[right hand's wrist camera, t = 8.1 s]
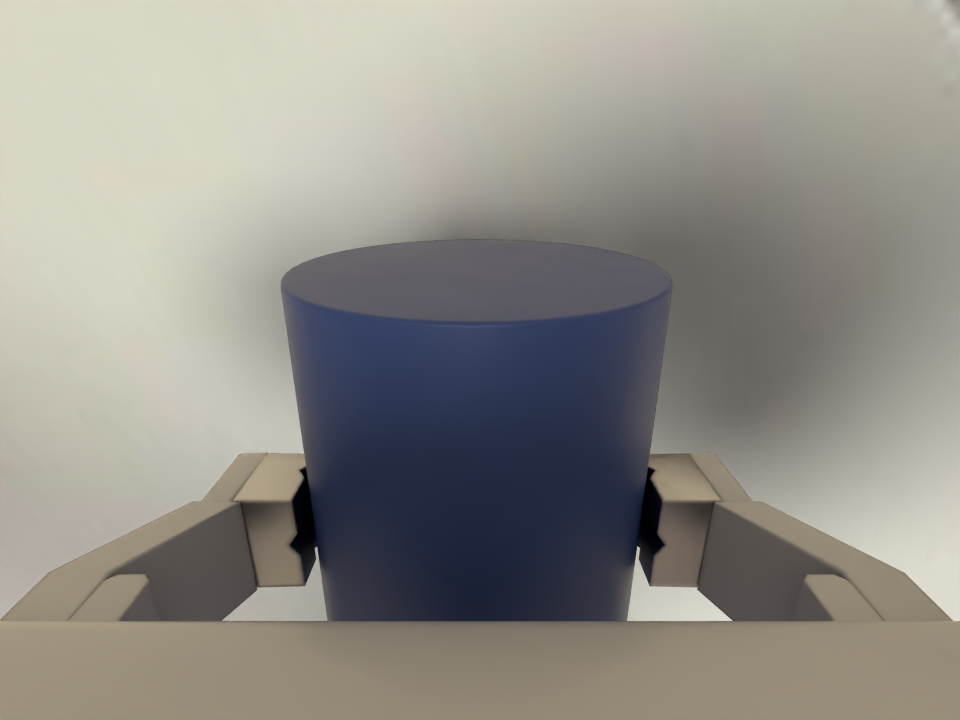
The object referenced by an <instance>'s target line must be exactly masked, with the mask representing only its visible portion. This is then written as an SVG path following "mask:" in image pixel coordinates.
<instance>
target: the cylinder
mask: <svg viewBox="0 0 960 720" xmlns="http://www.w3.org/2000/svg"><path fill="white" fill-rule="evenodd" d="M281 292H282V299H283V306H284V313H285V320H286V327H287V334H288V342H289V349H290V356H291V363H292V370H293V377H294V384H295V391H296V398H297V405H298V413H299V420H300V427H301V434H302V441H303V448H304V455H305V462H306V469H307V476H308V484H309V491H310V498H311V505H312V512H313V519H314V526H315V533H316V540H317V547H318V555H319V562H320V569H321V576H322V583H323V590H324V597H325V604H326V611H327V618H328V621H627V617H628V609H629V602H630V594H631V587H632V580H633V572H634V565H635V558H636V550H637V543H638V536H639V528H640V521H641V513H642V506H643V499H644V491H645V484H646V477H647V469H648V462H649V455H650V447H651V440H652V433H653V425H654V418H655V410H656V403H657V396H658V388H659V381H660V374H661V366H662V359H663V352H664V344H665V337H666V329H667V322H668V315H669V307H670V300H671V293H672V279H671V277H670V276H669V274H668V273H667V272H666V271H664V270H663V269H662V268H660V267H658V266H656V265H654V264H653V263H650V262H648V261H645V260H642V259H640V258H637V257H633V256H630V255H626V254H622V253H618V252H614V251H609V250H603V249H598V248H592V247H585V246H578V245H570V244H560V243H550V242H537V241H519V240H479V239H477V240H436V241H419V242H405V243H395V244H386V245H377V246H370V247H363V248H357V249H352V250H346V251H341V252H337V253H333V254H328V255H325V256H321V257H318V258H315V259H312V260H309V261H307V262H304V263H302V264H300V265H298V266H296V267H294V268H292V269H291V270H289V271H288V272H287V273H286V274H285V275H284V277H283V278H282V281H281Z"/></svg>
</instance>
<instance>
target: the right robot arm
mask: <svg viewBox="0 0 960 720" xmlns="http://www.w3.org/2000/svg"><path fill="white" fill-rule="evenodd" d="M637 546H638V547H640V554H639V561H640V563H641V566H642V568H643V570H644V573H645V575H646V578H647V580H648V583H649V585H650V586H666V587H698V589H697V590H699V591H700V592H701V593H702V594H703V595H704V596H705V597H706V598H708V599H709V600H710V601H711V602H712V603H713V604H714V605H716V606H717V607H718V608H719V609H720V610H721V611H722V612H724V613H725V614H726V615H727V616H728V617H729V618H730V619H732V620H733V621H222V620H223V619H224V618H225V617H226V616H227V615H229V614H230V613H231V612H232V611H233V610H234V609H236V608H237V607H238V606H239V605H240V604H241V603H242V602H244V601H245V600H246V599H247V598H248V597H249V596H251V595H252V594H253V593H254V592H255V591H256V590H257V587H288V586H305V585H306V582H307V580H308V577H309V575H310V572H311V570H312V568H313V565H314V563H315V560H316V555H315V547H317V540H316V533H315V526H314V519H313V512H312V505H311V498H310V491H309V484H308V476H307V469H306V462H305V455H304V454H286V453H270V454H269V453H244V454H240V455H239V456H238V457H237V458H236V459H235V461H234V462H233V463H232V464H231V465H230V467H229V468H228V469H227V470H226V472H225V473H224V474H223V475H222V477H221V478H220V479H219V480H218V481H217V483H216V484H215V485H214V486H213V488H212V489H211V490H210V491H209V493H208V494H207V495H206V496H205V497H204V499H203V500H202V501H201V502H191V503H189V504H187V505H185V506H183V507H181V508H179V509H177V510H175V511H173V512H171V513H169V514H167V515H165V516H163V517H161V518H159V519H157V520H154V521H152V522H150V523H148V524H146V525H144V526H142V527H140V528H138V529H136V530H134V531H132V532H130V533H128V534H126V535H124V536H122V537H120V538H118V539H116V540H114V541H112V542H110V543H108V544H106V545H104V546H102V547H100V548H98V549H95V550H93V551H91V552H89V553H87V554H85V555H83V556H81V557H79V558H77V559H75V560H73V561H71V562H69V563H67V564H65V565H63V566H61V567H59V568H57V569H55V570H53V571H51V572H49V573H48V574H47V575H46V576H45V577H44V578H43V579H42V580H41V581H40V582H39V583H38V584H37V585H36V586H35V587H33V588H32V589H31V590H30V591H29V592H28V593H27V594H26V595H25V596H24V597H23V598H22V599H21V600H20V601H19V602H18V603H17V604H16V605H15V606H14V607H13V608H12V609H11V610H10V611H9V612H8V613H7V614H6V615H4V616H3V617H2V618H1V619H0V720H960V621H953V620H952V619H951V618H950V617H949V616H948V615H947V614H946V613H945V612H944V611H943V610H942V609H941V608H940V607H939V606H938V605H936V604H935V603H934V602H933V601H932V600H931V599H930V598H929V597H928V596H927V595H926V594H925V593H924V592H923V591H922V590H921V589H920V588H919V587H918V586H917V585H916V584H915V583H914V582H913V581H912V580H911V579H910V578H909V577H908V576H907V575H906V574H905V573H904V572H902V571H900V570H898V569H896V568H894V567H892V566H890V565H888V564H886V563H884V562H882V561H880V560H878V559H876V558H873V557H871V556H869V555H867V554H865V553H863V552H861V551H859V550H857V549H855V548H853V547H851V546H849V545H847V544H845V543H843V542H841V541H839V540H837V539H835V538H833V537H831V536H829V535H827V534H825V533H823V532H821V531H819V530H817V529H815V528H813V527H811V526H809V525H807V524H805V523H803V522H801V521H799V520H797V519H795V518H793V517H791V516H789V515H787V514H785V513H783V512H781V511H779V510H777V509H775V508H773V507H771V506H769V505H767V504H765V503H763V502H753V501H752V500H751V498H750V497H749V496H748V495H747V493H746V492H745V491H744V490H743V488H742V487H741V486H740V485H739V483H738V482H737V481H736V480H735V478H734V477H733V476H732V475H731V473H730V472H729V471H728V470H727V468H726V467H725V466H724V465H723V463H722V462H721V461H720V460H719V458H718V457H717V456H716V455H715V454H712V453H688V454H650V455H649V462H648V469H647V477H646V484H645V491H644V499H643V506H642V513H641V521H640V528H639V536H638V543H637Z"/></svg>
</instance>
